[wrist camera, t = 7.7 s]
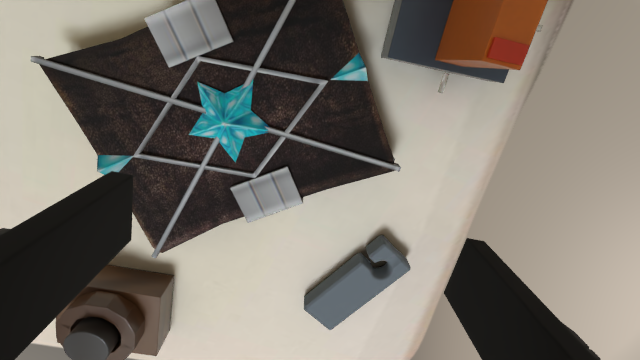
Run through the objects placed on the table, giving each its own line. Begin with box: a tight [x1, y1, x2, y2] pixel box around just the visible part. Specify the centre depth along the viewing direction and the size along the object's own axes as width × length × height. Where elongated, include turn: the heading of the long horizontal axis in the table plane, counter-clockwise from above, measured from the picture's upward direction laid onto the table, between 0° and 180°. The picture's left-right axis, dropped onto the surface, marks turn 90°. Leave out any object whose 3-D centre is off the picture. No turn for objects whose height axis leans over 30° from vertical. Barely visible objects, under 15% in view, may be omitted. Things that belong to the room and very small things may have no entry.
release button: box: [63, 317, 120, 360], centre depth 28 cm, size 4×4×2 cm
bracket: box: [304, 235, 410, 330], centre depth 32 cm, size 4×10×2 cm, turn 134°
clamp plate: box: [381, 0, 542, 93], centre depth 24 cm, size 11×11×3 cm
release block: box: [56, 265, 174, 360], centre depth 31 cm, size 9×7×5 cm
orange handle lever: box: [435, 0, 548, 70], centre depth 20 cm, size 7×2×7 cm, turn 168°
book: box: [31, 0, 401, 258], centre depth 25 cm, size 22×17×5 cm
